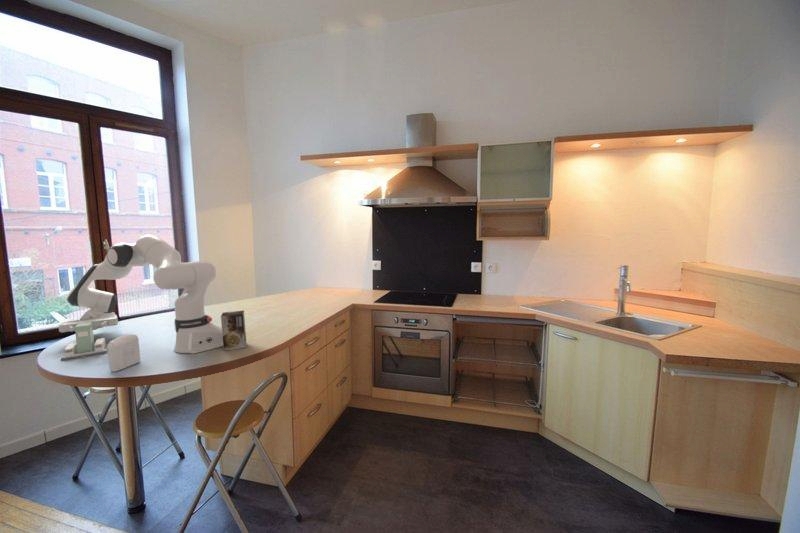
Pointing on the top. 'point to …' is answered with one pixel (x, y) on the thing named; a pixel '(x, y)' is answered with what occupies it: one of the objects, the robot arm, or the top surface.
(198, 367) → the top surface
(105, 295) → the robot arm
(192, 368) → the top surface
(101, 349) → the rail board
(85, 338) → the loose module
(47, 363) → the top surface
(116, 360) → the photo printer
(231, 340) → the coffee box
